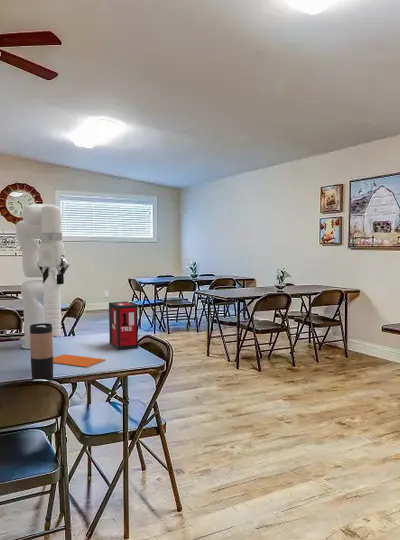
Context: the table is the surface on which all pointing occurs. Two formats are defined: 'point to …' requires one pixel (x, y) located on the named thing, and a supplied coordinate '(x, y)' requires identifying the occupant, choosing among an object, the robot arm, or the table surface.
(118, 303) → the cleaning product box
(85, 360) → the cloth
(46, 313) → the water bottle
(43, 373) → the travel mug
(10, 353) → the table surface
